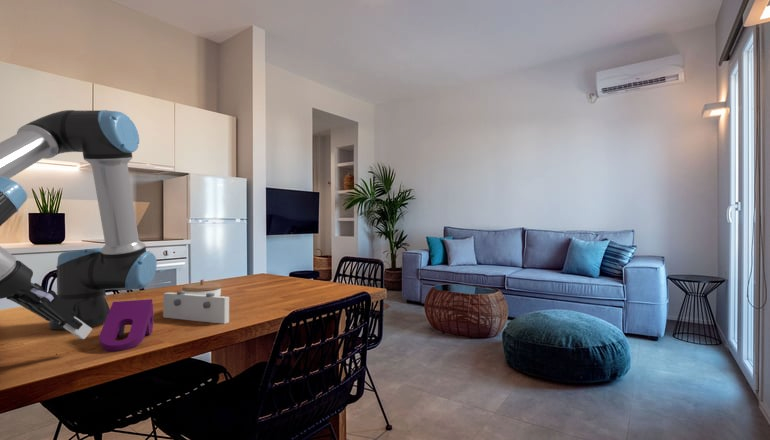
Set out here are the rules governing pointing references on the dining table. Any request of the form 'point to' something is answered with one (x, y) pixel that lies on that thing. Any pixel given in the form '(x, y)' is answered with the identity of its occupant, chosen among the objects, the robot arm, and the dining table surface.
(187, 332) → the dining table surface
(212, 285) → the lidded bowl
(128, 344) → the mounting bracket
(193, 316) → the hinge seat
